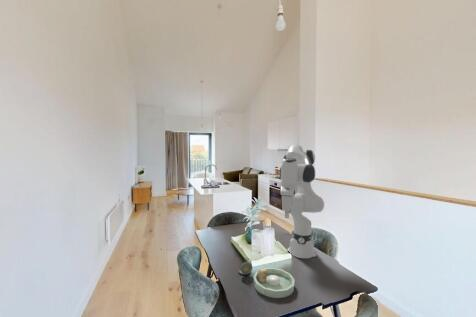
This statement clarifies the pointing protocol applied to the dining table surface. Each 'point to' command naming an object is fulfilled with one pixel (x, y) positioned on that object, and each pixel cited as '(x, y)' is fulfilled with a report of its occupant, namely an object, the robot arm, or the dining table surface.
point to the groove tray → (275, 290)
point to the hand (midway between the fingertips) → (288, 215)
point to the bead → (262, 276)
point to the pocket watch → (245, 268)
